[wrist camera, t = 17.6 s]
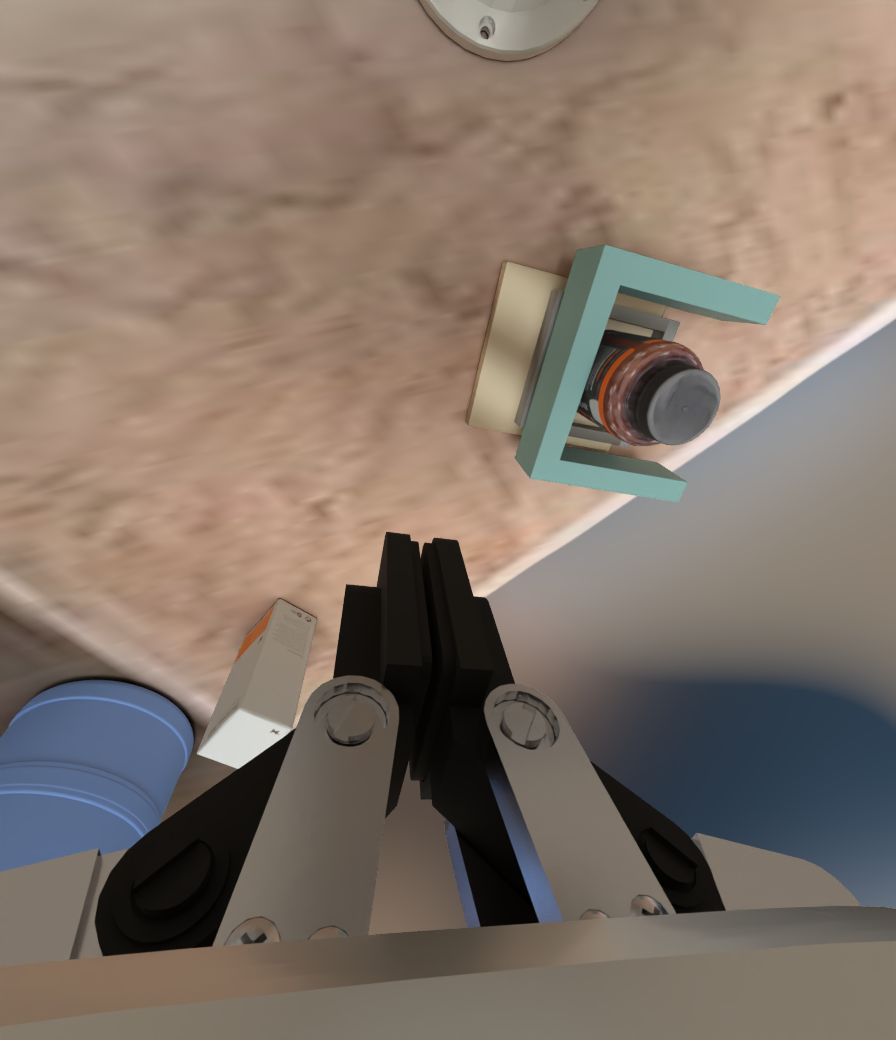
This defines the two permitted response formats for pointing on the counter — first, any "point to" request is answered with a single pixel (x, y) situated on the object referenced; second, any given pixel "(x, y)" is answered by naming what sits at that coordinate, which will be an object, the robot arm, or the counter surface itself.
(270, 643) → the skincare box
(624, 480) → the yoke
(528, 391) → the housing base
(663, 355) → the supplement bottle
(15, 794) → the water jug
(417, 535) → the counter surface
